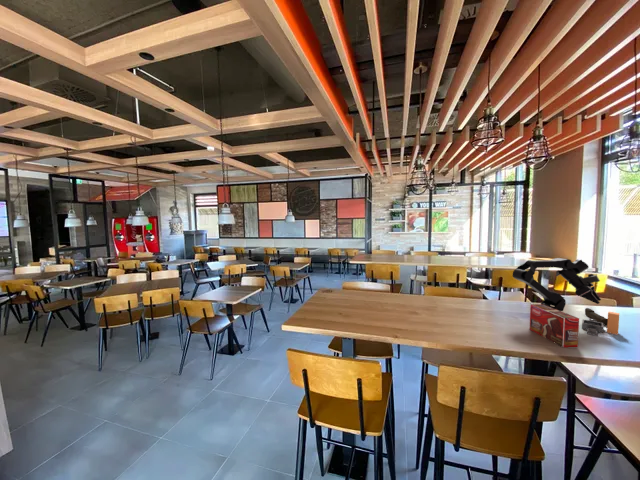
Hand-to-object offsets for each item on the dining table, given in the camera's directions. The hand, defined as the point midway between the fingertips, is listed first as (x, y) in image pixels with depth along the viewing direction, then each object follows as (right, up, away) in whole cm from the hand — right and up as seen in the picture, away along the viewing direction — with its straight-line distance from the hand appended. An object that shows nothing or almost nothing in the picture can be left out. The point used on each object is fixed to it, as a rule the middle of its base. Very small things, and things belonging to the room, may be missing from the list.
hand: (599, 301), depth 140 cm
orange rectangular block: (-2, -14, -8) cm, 16 cm away
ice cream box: (-37, -15, -13) cm, 42 cm away
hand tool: (+7, -13, +10) cm, 18 cm away
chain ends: (-7, -13, -3) cm, 15 cm away
